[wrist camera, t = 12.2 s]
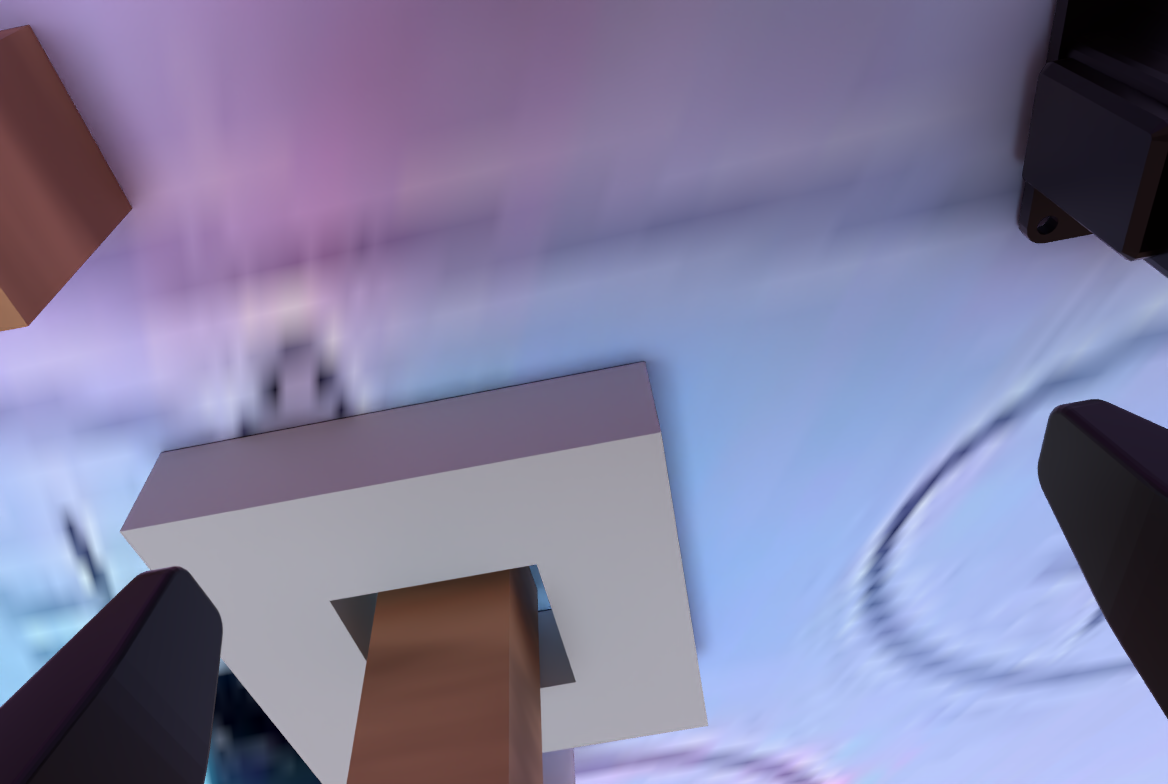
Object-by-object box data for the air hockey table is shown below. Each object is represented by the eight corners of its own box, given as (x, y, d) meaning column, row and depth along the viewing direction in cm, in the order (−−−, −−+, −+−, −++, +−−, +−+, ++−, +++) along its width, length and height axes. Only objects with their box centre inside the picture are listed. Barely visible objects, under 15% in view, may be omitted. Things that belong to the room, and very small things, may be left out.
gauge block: (644, 361, 22) (708, 641, 15) (704, 725, 34) (756, 977, 27) (160, 453, 23) (0, 760, 16) (386, 778, 35) (353, 1036, 27)
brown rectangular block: (537, 590, 28) (546, 871, 21) (425, 609, 28) (396, 894, 21) (509, 512, 25) (508, 800, 18) (387, 534, 25) (339, 828, 18)
